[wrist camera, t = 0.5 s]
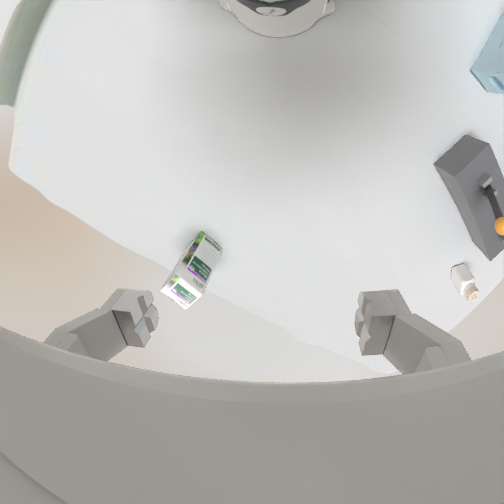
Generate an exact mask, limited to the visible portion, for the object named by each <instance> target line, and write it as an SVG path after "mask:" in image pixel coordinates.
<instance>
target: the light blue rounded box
mask: <svg viewBox="0 0 504 504" xmlns="http://www.w3.org/2000/svg"><path fill="white" fill-rule="evenodd" d="M471 71H472V72H473V74H474V75H475V76H476V77H477V79H478V80H479V81H480V82H481V84H482V85H483V86H484V88H485V89H486V90H487V91H488V92H495V93H502V94H504V15H502V16H501V17H500V19H499V21H498V23H497V25H496V26H495V28H494V30H493V32H492V34H491V36H490V38H489V39H488V41H487V43H486V45H485V46H484V48H483V50H482V52H481V53H480V55H479V57H478V58H477V60H476V62H475V63H474V65H473V67H472V68H471Z"/></svg>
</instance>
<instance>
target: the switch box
mask: <svg viewBox="0 0 504 504" xmlns="http://www.w3.org/2000/svg"><path fill="white" fill-rule="evenodd" d="M434 166H435V168H436V169H437V171H438V173H439V174H440V176H441V178H442V180H443V181H444V183H445V185H446V187H447V188H448V190H449V192H450V194H451V196H452V198H453V200H454V202H455V204H456V206H457V208H458V210H459V212H460V214H461V216H462V218H463V220H464V222H465V225H466V227H467V229H468V231H469V234H470V236H471V238H472V241H473V242H474V243H475V245H476V246H477V247H478V248H479V249H480V250H481V251H482V252H483V254H484V255H485V256H486V257H487V258H488V259H489V261H491V260H492V259H493V258H494V257H496V256H497V255H498V254H499V253H500V252H501V251H502V250H503V249H504V236H502V235H499V234H498V233H497V232H496V230H495V222H496V219H495V216H494V213H493V210H492V207H491V204H490V202H489V199H488V196H487V194H486V191H485V189H484V188H485V187H486V186H487V185H488V184H490V185H491V187H492V190H493V192H494V194H495V197H496V199H497V202H498V204H499V207H500V209H501V212H502V215H503V217H504V178H503V175H502V173H501V170H500V168H499V165H498V163H497V160H496V158H495V155H494V153H493V151H492V148H491V146H490V144H489V143H486V142H484V141H481V140H479V139H476V138H473V137H470V136H467V135H465V136H464V137H463V138H462V139H461V140H459V141H458V142H457V143H456V144H455V145H454V146H453V147H452V148H451V149H450V150H449V151H448V152H446V153H445V154H444V155H443V156H442V157H441V158H440V159H439V160H438V161H437V162H435V163H434Z"/></svg>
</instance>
